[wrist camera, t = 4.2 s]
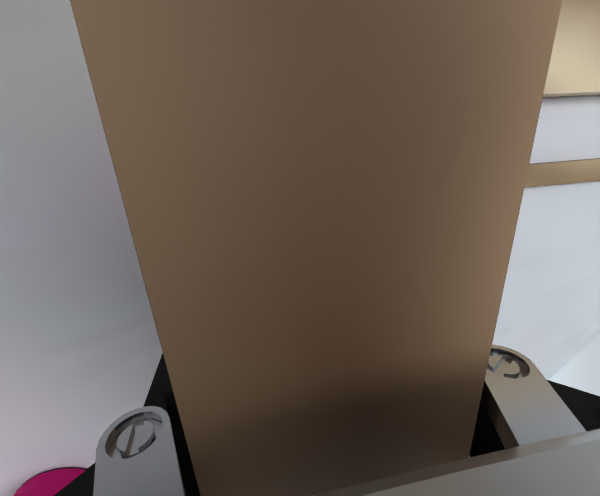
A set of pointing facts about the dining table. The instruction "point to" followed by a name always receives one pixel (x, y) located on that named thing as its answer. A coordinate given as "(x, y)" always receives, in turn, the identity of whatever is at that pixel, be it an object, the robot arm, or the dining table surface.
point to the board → (572, 84)
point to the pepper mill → (48, 482)
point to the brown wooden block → (321, 218)
